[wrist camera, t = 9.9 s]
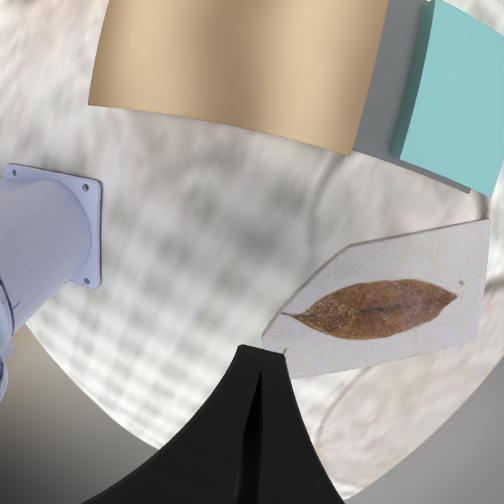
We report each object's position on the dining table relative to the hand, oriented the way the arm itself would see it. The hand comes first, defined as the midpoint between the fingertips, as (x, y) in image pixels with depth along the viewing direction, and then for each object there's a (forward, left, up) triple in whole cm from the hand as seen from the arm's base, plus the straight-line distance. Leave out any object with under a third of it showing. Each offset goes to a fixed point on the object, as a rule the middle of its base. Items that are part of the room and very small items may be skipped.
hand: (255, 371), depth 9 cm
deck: (-4, +11, -10) cm, 16 cm away
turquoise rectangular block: (+8, +11, -8) cm, 16 cm away
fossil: (+8, -3, -11) cm, 14 cm away
